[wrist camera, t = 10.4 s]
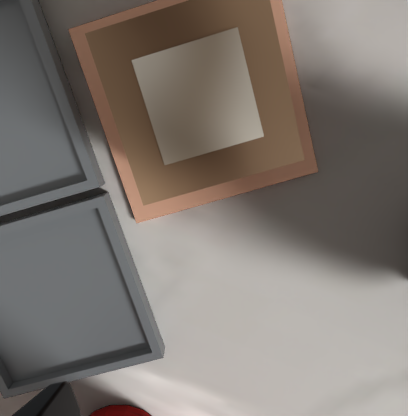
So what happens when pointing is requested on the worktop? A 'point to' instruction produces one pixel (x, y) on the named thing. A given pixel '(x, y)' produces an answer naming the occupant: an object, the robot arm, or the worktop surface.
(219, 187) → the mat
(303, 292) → the worktop surface
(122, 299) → the tray
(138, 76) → the cardboard box
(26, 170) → the tray
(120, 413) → the plastic cup
